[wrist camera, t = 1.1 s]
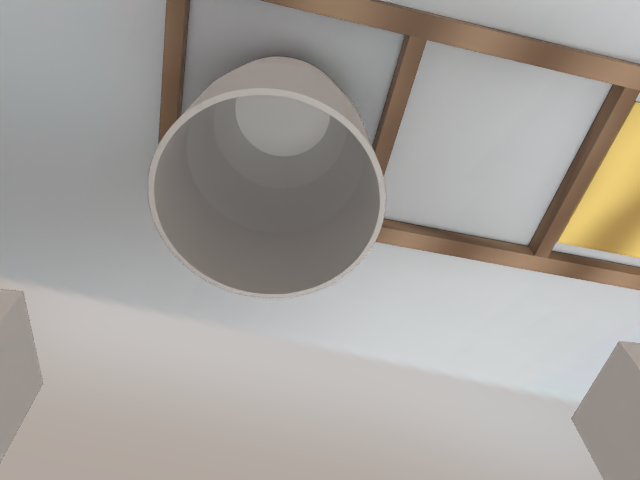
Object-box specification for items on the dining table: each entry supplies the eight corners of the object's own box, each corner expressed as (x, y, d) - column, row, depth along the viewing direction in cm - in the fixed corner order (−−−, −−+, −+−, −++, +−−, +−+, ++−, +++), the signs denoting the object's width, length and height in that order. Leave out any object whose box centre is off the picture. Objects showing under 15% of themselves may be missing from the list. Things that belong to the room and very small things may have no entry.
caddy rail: (159, 192, 29) (155, 201, 28) (174, -50, 22) (169, -49, 21) (690, 291, 33) (700, 301, 32) (829, 110, 26) (846, 117, 26)
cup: (313, 206, 29) (314, 326, 21) (178, 140, 27) (116, 245, 18) (393, 79, 25) (433, 163, 17) (242, -9, 23) (202, 37, 15)
